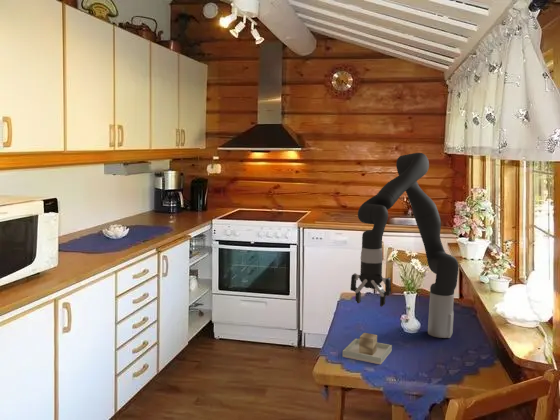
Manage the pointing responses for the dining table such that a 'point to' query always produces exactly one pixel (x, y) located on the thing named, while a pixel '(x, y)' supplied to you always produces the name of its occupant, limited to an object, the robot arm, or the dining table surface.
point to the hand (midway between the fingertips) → (370, 304)
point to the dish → (376, 358)
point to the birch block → (368, 344)
